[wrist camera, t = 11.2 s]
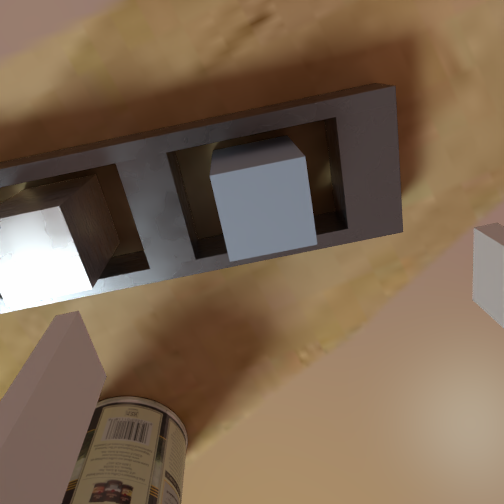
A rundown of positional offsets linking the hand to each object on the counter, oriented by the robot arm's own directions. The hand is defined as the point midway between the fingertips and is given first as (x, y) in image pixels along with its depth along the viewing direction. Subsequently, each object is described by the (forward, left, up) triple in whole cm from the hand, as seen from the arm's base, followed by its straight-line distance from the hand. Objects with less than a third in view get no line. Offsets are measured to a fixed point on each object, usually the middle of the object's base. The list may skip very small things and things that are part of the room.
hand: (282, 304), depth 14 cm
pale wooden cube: (-13, 0, -17) cm, 21 cm away
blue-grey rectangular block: (0, 0, -17) cm, 17 cm away
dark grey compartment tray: (-6, 0, -17) cm, 18 cm away
